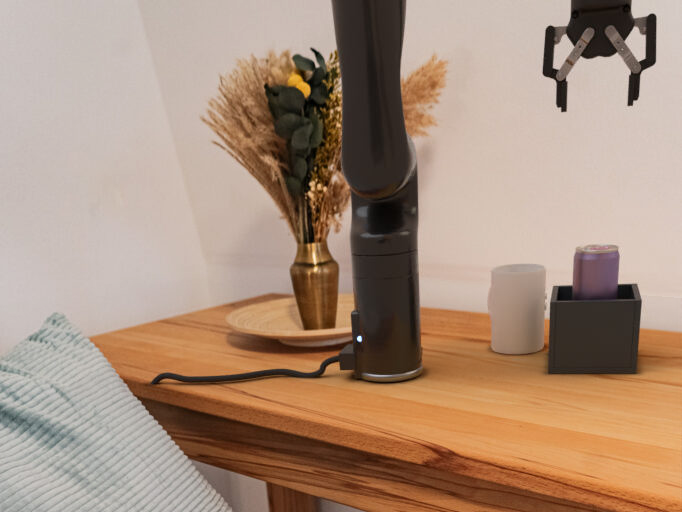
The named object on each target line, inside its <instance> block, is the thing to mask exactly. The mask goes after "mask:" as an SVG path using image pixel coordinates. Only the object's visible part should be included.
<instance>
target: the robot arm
mask: <svg viewBox="0 0 682 512" xmlns="http://www.w3.org/2000/svg"><path fill="white" fill-rule="evenodd" d="M632 2H633V0H570V17H569V21H568V24H567V25H562V26H558V25H557V26H554V25H552V24H551V25H548V26H547V27H545V30H544V31H545V32H544V42H543V43H544V44H543V45H544V46H543V59H542V71H541V72H542V75H543V76H544V78H548V79H551V80H554V81H555V83H556V86H555V87H556V88H555V89H556V90H555V93H556V94H555V105H556V108H557V109H559V108H560V113H567V112H568V85H569V82H568V81H567V77H568V75H569V74H570V72H571V71H572V69H573V68H574V66H576V64H577V63H578V61H579V60H580V58H583V59H585V60H592V59H595V58H598V57H600V58H611V57H613V56H614V55H616V54H618V56H619V57H620V58H621V60H622V61H623V62H624V64H625V66H626V67H627V68H628V70H629V71H630V74H628V87H627V101H626V102H627V103H626V104H627V105H626V107H634V102H636V101H638V100H639V97H640V91H641V76H642V73H643V71H645V70H647V69H649V68H652V67H653V66H655V64H656V63H657V24H658V23H657V22H658V21H657V20H658V19H657V17H658V16H657V15H656V14H655V13H649V14H648V15H645V16H640V17H634V15H633V13H632V12H633V11H632ZM330 3H331V12H332V22H333V29H334V31H333V32H334V38H335V46H336V51H337V52H336V53H337V58H338V59H337V60H338V64H339V71H340V72H339V73H340V82H341V83H340V84H341V137H340V138H341V139H340V165H341V167H340V168H341V173H342V175H343V178H344V180H345V182H346V184H347V185H348V187H349V188H350V205H351V219H350V220H351V221H350V230H349V250H350V251H349V252H350V263H351V277H352V278H351V280H352V292H353V295H352V296H353V310H352V311H351V312H350V324H351V325H350V326H351V340H352V341H351V342H352V343H349V344H346V345H345V346H344V347H343V349H341V350H340V351H339V352H338V355H333V356H331V357H328V358H326V359H325V360H323V361H322V362H321V364H320V365H319V369H316V370H315V371H311V372H304V371H298V370H294V369H291V368H270V369H262V370H255V371H249V372H241V373H235V374H222V375H199V376H198V375H197V376H195V375H191V376H190V375H189V376H188V375H182V374H179V373H174V372H169V371H168V372H161V373H159V374H158V375H156V376H155V377H154V378H153V379H152V380H151V381H150V385H158V384H159V383H160V382H161V381H163V380H172V381H177V382H181V383H188V384H203V383H227V382H237V381H238V382H239V381H246V380H252V379H258V378H264V377H272V376H273V377H274V376H288V377H292V378H293V377H294V378H301V379H317V378H319V377H322V376H323V375H324V374H325V372H326V369H327V367H329V366H331V365H332V364H336V363H338V364H339V365H338V366H339V371H353V372H354V379H356V380H365V381H369V382H374V383H375V382H376V383H392V382H402V381H406V380H407V381H408V380H411V379H413V378H416V377H419V376H420V375H422V374H423V372H424V363H423V346H422V322H421V321H422V320H421V296H420V295H421V293H420V268H419V267H420V266H419V221H420V217H419V216H420V211H419V210H420V209H419V169H418V155H417V149H416V145H415V142H414V141H413V139H412V137H411V135H410V134H409V133H408V132H407V127H406V119H405V113H404V105H403V104H404V103H403V96H402V95H403V93H402V83H401V82H402V80H401V79H402V75H401V73H402V72H401V70H402V57H403V49H404V40H405V30H406V20H407V19H406V17H407V16H406V15H407V0H330ZM634 28H637V29H638V33H639V34H640V35H641V36H645V52H644V53H645V58H644V59H641V60H639V61H638V59H637V58H636V56H635V55H634V54H633V52H632V51H631V49H630V47H629V46H628V45H627V43H626V42H625V41H626V40H627V39H628V38H629V36H630V34H631V32H632V31H633V30H634ZM564 36H566V37H567V39H568V40H569V41H570V43H571V44H572V46H573V48H572V50H571V51H570V52H569V54H568V56H567V57H566V59H565V60H564V62H563V63H562V65H561V66H560V67H559V69H558V68H555V67H554V59H555V47H556V46H557V45H559V44H560V43H561V42H562V38H563V37H564Z"/></svg>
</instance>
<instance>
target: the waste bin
mask: <svg viewBox="0 0 682 512" xmlns="http://www.w3.org/2000/svg"><path fill="white" fill-rule="evenodd" d="M550 296H551V297H550V301H549V321H548V322H549V323H548V324H549V326H548V354H547V358H548V359H547V374H557V375H558V374H576V375H577V374H579V375H581V374H583V375H584V374H586V375H587V374H603V375H604V374H605V375H606V374H611V375H612V374H615V375H616V374H620V375H621V374H626V375H627V374H633V375H634V374H637V369H638V368H637V367H638V356H639V344H640V331H641V319H642V318H641V317H642V305H643V299H642V296H641V293H640V289H639V286H638V283H618V290H617V300H578V301H572V284H567V285H566V284H565V285H563V284H561V285H553V286H552V290H551V295H550Z"/></svg>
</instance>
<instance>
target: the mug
mask: <svg viewBox="0 0 682 512" xmlns="http://www.w3.org/2000/svg"><path fill="white" fill-rule="evenodd" d="M546 284H547V268H546V266H545V265H543V264H537V263H510V264H503V265H499V266H498V265H497V266H494V267H493V268H492V269H491V271H490V287H489V290H488V293H487V311H488V316H489V318H490V332H491V333H490V348H491V350H492V351H493V352H495V353H498V354H504V355H527V354H533V353H537V352H539V351H540V352H541V351H542V350H543V349H544V346H545V323H546V321H545V318H546V311H547V307H548V304H547V302H546V300H547V299H548V293H547V292H546V288H547V287H546V286H547V285H546Z"/></svg>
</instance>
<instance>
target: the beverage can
mask: <svg viewBox="0 0 682 512" xmlns="http://www.w3.org/2000/svg"><path fill="white" fill-rule="evenodd" d="M620 257H621V256H620V251H619V246H618V245H616V244H606V243H599V244H598V243H597V244H586V245H579V246H577V247H575V252H574V255H573V263H572V284H571V285H572V301H578V300H617V290H618V284H619V271H620Z"/></svg>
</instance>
